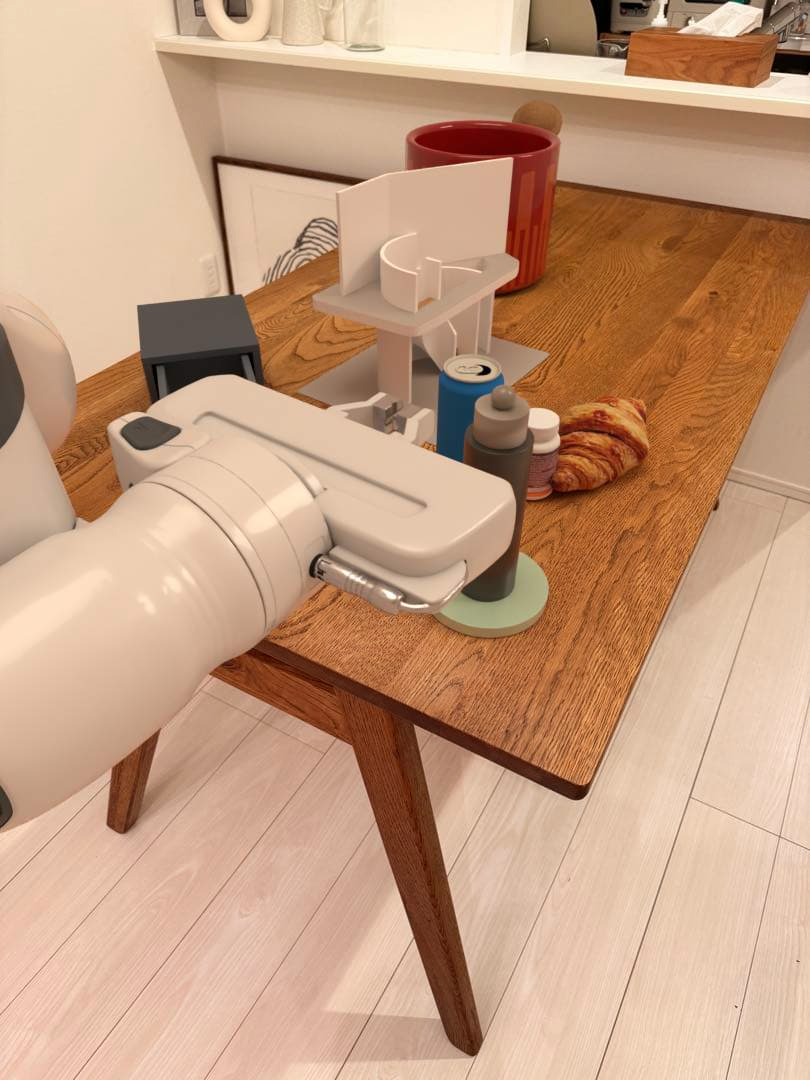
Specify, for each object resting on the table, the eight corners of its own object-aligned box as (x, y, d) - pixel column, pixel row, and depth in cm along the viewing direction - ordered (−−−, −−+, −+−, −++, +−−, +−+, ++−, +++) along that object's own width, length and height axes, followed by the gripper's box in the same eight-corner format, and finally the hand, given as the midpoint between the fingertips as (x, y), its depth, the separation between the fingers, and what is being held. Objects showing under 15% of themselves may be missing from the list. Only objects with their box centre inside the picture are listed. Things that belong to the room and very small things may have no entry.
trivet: (446, 650, 62) (446, 640, 61) (407, 564, 70) (407, 554, 69) (568, 622, 65) (570, 612, 64) (517, 542, 73) (518, 532, 72)
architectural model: (436, 446, 85) (445, 232, 70) (295, 391, 95) (275, 192, 80) (551, 354, 103) (577, 166, 88) (422, 315, 112) (425, 140, 97)
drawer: (282, 473, 80) (275, 416, 75) (168, 492, 77) (154, 433, 73) (257, 392, 93) (250, 339, 88) (159, 406, 90) (147, 352, 86)
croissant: (607, 434, 94) (588, 374, 91) (687, 423, 87) (670, 357, 84) (527, 519, 80) (502, 450, 77) (615, 513, 73) (591, 438, 71)
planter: (453, 238, 138) (459, 113, 125) (568, 267, 128) (588, 133, 115) (376, 277, 124) (373, 140, 111) (499, 312, 113) (512, 165, 100)
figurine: (551, 213, 150) (565, 97, 137) (549, 224, 144) (564, 105, 132) (505, 210, 151) (515, 95, 138) (502, 221, 146) (512, 103, 133)
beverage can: (497, 486, 80) (508, 383, 72) (435, 485, 80) (439, 382, 72) (493, 452, 85) (502, 352, 77) (434, 451, 85) (438, 351, 77)
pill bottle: (560, 484, 80) (572, 414, 74) (539, 507, 77) (550, 435, 71) (520, 469, 82) (528, 400, 76) (498, 491, 79) (505, 420, 73)
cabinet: (267, 412, 91) (259, 343, 85) (157, 428, 88) (140, 358, 82) (250, 357, 102) (242, 293, 96) (151, 370, 99) (136, 304, 93)
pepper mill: (467, 607, 64) (483, 409, 52) (447, 567, 68) (458, 374, 56) (524, 595, 65) (553, 398, 53) (501, 557, 69) (523, 365, 57)
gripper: (424, 572, 29) (580, 419, 38) (85, 411, 38) (274, 318, 47) (421, 679, 33) (563, 518, 42) (116, 511, 42) (284, 408, 51)
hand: (408, 411), depth 44 cm, fingers closed
